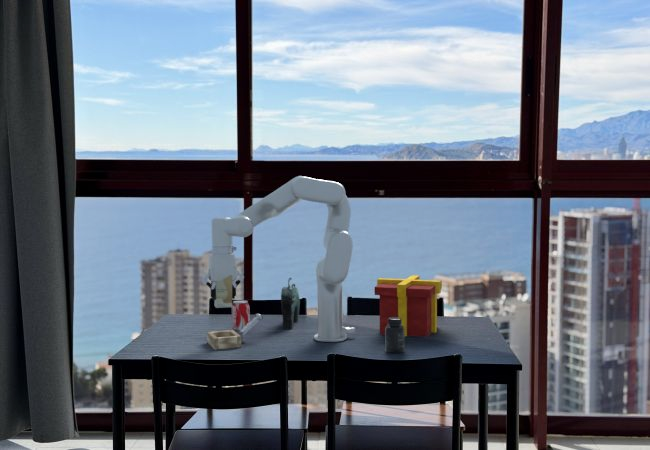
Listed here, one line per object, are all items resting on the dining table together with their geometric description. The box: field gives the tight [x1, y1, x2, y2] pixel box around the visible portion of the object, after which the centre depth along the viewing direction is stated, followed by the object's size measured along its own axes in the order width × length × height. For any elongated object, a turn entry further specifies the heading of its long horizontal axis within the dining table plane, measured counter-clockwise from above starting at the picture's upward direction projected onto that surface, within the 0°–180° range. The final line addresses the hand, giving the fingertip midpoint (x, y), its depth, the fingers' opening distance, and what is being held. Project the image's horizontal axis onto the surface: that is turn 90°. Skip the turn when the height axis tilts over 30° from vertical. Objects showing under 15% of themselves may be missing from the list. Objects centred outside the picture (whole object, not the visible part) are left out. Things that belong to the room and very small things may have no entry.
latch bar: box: [240, 313, 264, 336], centre depth 326 cm, size 11×4×2 cm
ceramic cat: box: [280, 277, 301, 330], centre depth 353 cm, size 20×6×20 cm, turn 171°
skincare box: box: [213, 275, 233, 309], centre depth 317 cm, size 6×4×12 cm
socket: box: [206, 329, 242, 351], centre depth 319 cm, size 10×12×4 cm
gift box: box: [374, 274, 443, 338], centre depth 340 cm, size 25×25×20 cm
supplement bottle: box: [384, 317, 406, 355], centre depth 306 cm, size 7×7×12 cm
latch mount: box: [234, 329, 245, 344], centre depth 325 cm, size 3×6×4 cm, turn 20°
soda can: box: [231, 299, 251, 331], centre depth 343 cm, size 7×7×12 cm
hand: (223, 298), depth 318 cm, fingers closed on skincare box, 6 cm apart
